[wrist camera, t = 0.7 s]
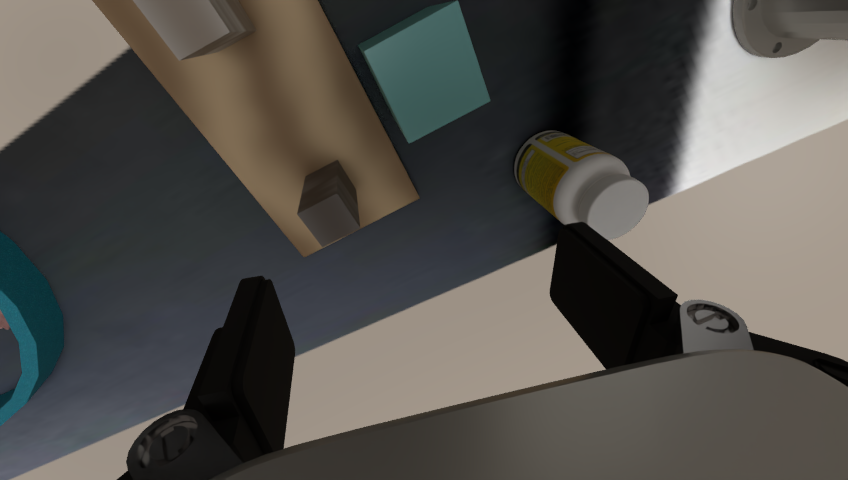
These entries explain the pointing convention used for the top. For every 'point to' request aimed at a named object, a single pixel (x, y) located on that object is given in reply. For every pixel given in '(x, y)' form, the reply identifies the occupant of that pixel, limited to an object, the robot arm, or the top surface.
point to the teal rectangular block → (426, 69)
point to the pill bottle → (580, 183)
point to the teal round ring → (28, 323)
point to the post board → (274, 107)
